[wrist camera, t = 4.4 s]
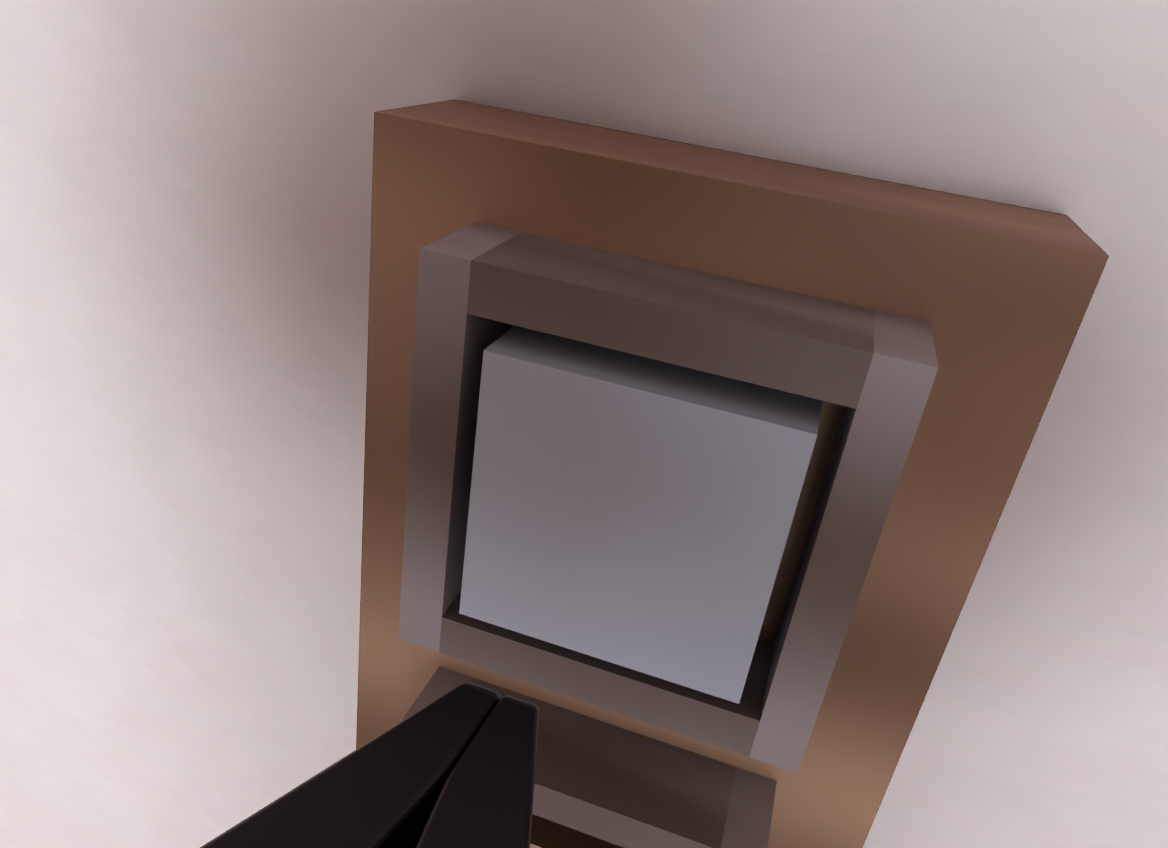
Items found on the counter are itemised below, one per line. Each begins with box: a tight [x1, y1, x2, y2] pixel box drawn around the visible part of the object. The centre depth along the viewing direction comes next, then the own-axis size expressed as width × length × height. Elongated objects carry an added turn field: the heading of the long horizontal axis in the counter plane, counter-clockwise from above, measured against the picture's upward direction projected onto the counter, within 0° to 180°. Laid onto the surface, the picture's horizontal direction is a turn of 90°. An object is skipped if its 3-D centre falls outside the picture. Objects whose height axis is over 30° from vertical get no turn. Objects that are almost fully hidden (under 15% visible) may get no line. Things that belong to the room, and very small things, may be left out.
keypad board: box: [356, 100, 1109, 848], centre depth 20 cm, size 29×11×5 cm, turn 172°
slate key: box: [459, 326, 823, 704], centre depth 14 cm, size 5×5×2 cm
